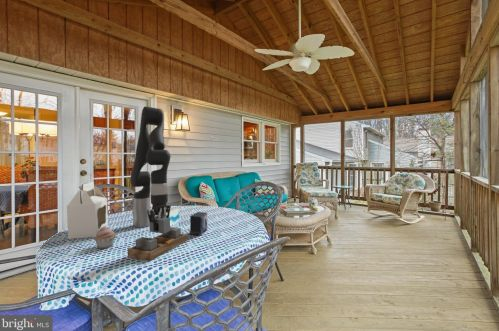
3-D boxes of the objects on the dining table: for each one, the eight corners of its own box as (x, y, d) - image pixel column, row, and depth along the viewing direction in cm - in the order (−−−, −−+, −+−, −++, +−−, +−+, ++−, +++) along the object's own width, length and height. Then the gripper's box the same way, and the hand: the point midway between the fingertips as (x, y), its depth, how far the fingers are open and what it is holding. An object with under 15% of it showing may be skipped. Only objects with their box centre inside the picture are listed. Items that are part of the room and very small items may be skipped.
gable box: (83, 227, 158) (82, 180, 157) (108, 226, 161) (106, 180, 160) (67, 239, 136) (65, 185, 135) (95, 237, 140) (94, 184, 138)
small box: (201, 235, 142) (200, 216, 142) (189, 235, 144) (189, 215, 143) (207, 230, 153) (207, 212, 152) (197, 229, 154) (197, 211, 154)
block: (149, 231, 122) (149, 218, 122) (156, 229, 127) (156, 216, 126) (163, 233, 120) (163, 220, 119) (170, 230, 124) (170, 218, 123)
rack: (127, 257, 113) (127, 241, 113) (167, 238, 138) (167, 225, 138) (150, 261, 109) (150, 244, 108) (187, 241, 134) (187, 227, 133)
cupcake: (114, 248, 123) (113, 227, 122) (91, 251, 120) (91, 229, 120) (118, 242, 132) (117, 222, 131) (97, 244, 129) (96, 224, 129)
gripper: (162, 190, 130) (163, 224, 131) (141, 194, 117) (142, 233, 118) (175, 191, 128) (176, 226, 128) (155, 195, 114) (156, 234, 115)
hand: (159, 229), depth 123 cm, fingers closed on block, 4 cm apart
